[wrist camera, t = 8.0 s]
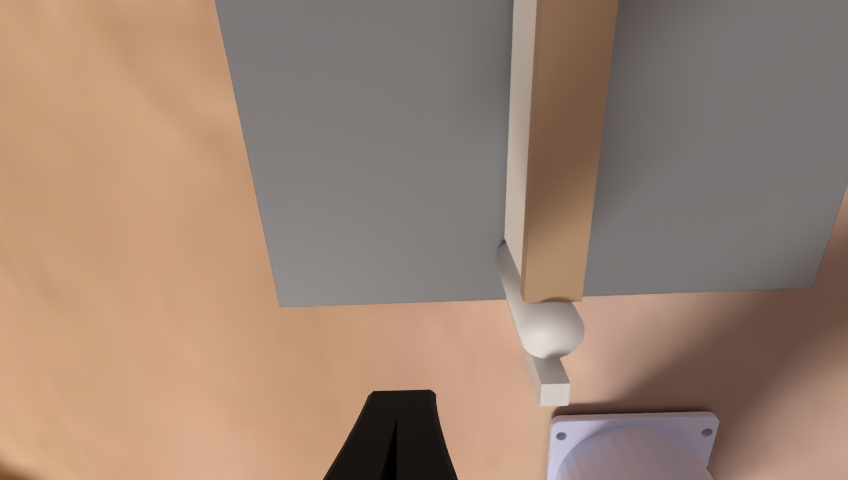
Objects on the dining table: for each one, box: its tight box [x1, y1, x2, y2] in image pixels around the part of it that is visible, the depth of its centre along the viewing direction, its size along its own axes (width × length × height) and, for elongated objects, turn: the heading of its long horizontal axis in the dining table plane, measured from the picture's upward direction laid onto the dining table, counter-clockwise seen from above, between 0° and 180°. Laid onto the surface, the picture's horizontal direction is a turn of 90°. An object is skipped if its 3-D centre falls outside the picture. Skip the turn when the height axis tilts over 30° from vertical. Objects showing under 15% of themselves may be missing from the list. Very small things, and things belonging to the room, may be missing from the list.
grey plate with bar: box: [215, 0, 848, 406], centre depth 12 cm, size 16×22×7 cm
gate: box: [496, 0, 619, 359], centre depth 12 cm, size 13×2×5 cm, turn 2°
